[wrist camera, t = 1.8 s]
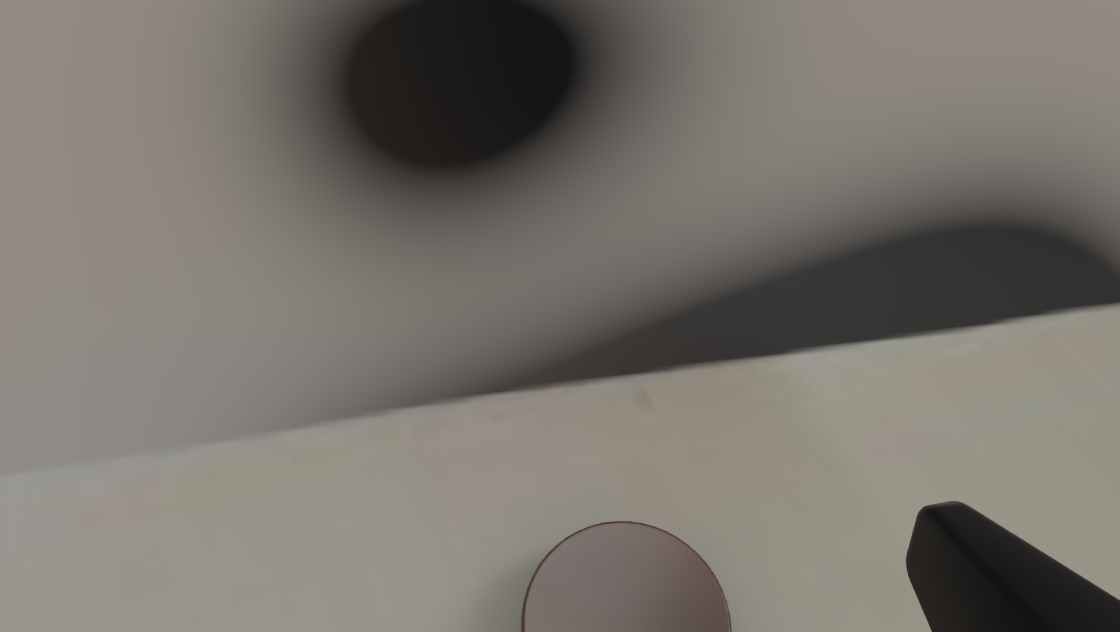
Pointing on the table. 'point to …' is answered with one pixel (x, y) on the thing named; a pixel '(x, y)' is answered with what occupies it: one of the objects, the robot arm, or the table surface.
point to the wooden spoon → (624, 584)
